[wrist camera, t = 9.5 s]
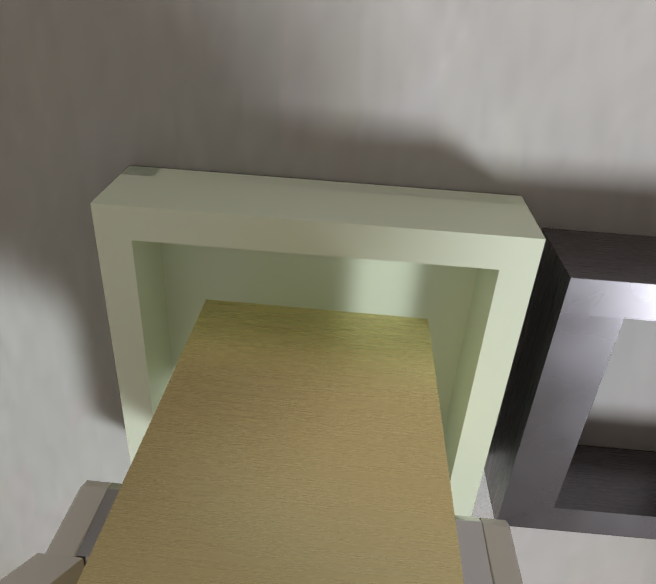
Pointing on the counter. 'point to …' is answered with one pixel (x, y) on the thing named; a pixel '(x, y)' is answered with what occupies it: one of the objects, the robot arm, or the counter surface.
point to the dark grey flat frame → (573, 393)
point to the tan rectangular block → (289, 458)
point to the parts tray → (320, 278)
